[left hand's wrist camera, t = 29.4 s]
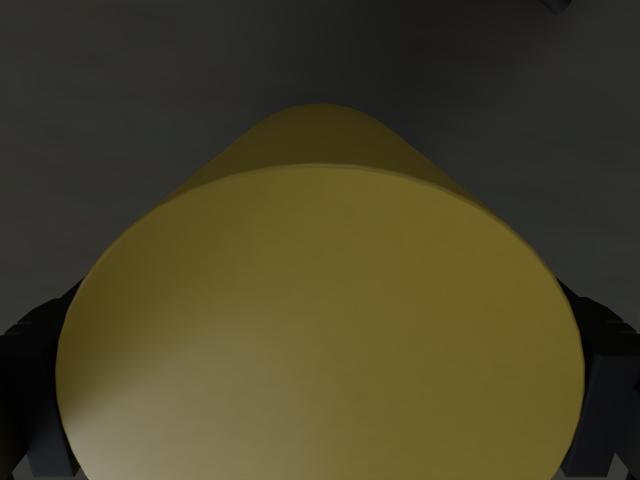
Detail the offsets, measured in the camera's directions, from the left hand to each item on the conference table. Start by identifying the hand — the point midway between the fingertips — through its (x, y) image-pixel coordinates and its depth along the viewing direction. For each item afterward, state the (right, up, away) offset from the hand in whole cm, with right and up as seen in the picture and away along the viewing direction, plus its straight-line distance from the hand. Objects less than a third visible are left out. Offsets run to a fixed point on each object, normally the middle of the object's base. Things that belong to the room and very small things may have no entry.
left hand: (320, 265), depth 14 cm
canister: (0, +2, +5) cm, 6 cm away
